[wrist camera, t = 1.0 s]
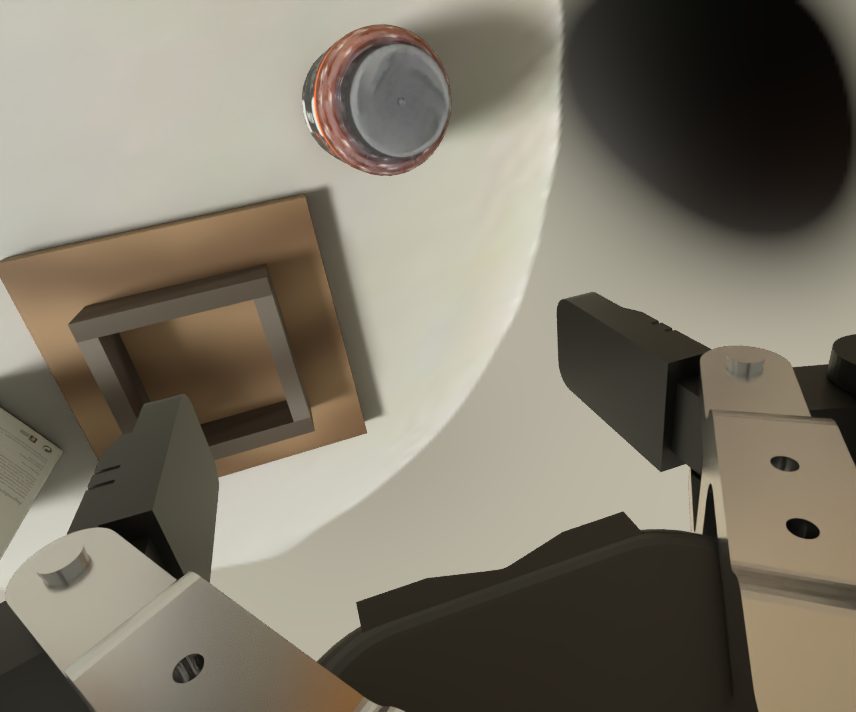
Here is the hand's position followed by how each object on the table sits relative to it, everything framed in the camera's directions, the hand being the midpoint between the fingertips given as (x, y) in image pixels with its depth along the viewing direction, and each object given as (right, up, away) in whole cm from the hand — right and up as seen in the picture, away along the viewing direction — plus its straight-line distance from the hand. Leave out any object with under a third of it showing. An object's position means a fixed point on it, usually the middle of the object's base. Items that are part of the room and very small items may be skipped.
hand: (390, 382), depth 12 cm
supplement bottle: (-3, +15, +19) cm, 24 cm away
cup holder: (-13, +1, +22) cm, 25 cm away
